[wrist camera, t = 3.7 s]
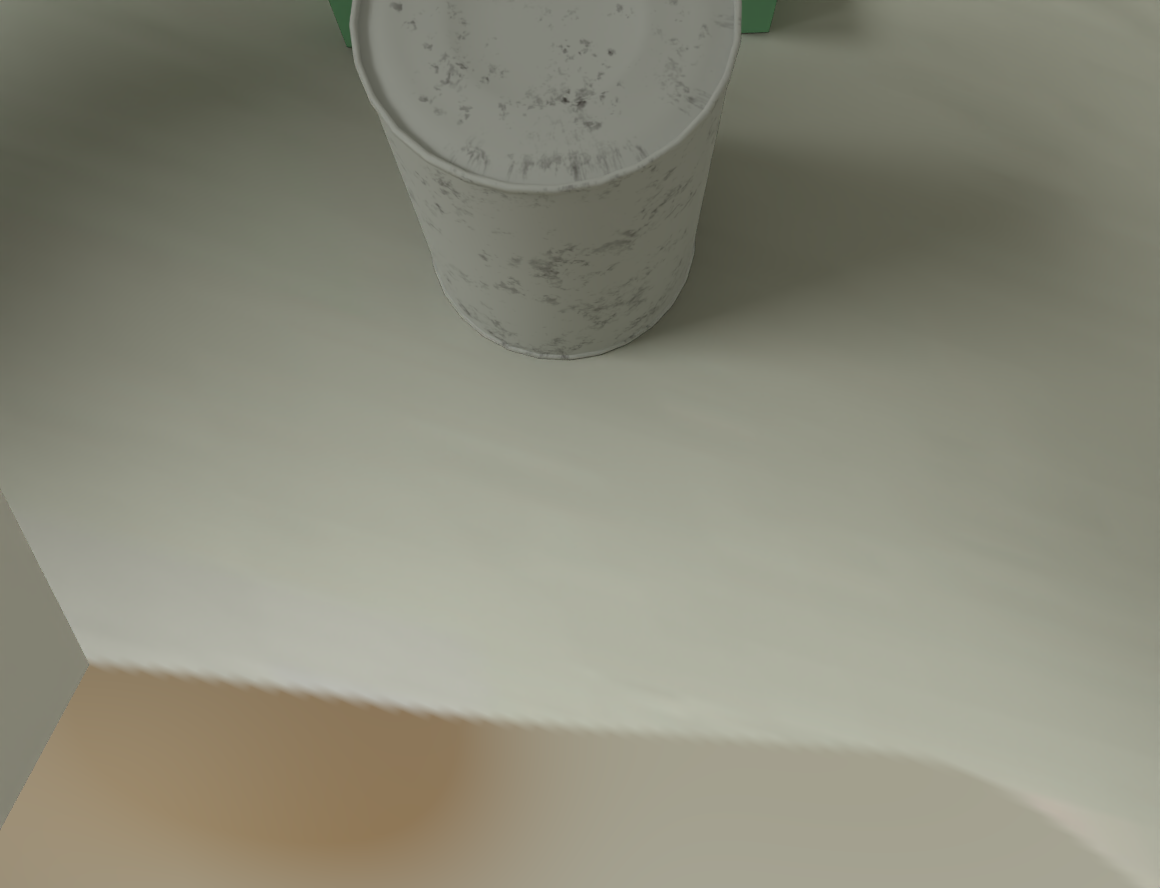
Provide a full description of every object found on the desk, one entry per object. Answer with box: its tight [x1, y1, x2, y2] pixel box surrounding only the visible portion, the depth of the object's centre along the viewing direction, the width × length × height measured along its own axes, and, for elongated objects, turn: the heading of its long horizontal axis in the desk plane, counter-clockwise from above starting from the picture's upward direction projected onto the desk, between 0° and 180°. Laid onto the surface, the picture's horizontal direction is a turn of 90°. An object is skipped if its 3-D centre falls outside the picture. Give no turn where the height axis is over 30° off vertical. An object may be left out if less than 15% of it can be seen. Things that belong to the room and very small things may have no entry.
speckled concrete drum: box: [349, 0, 742, 360], centre depth 30 cm, size 10×10×12 cm
